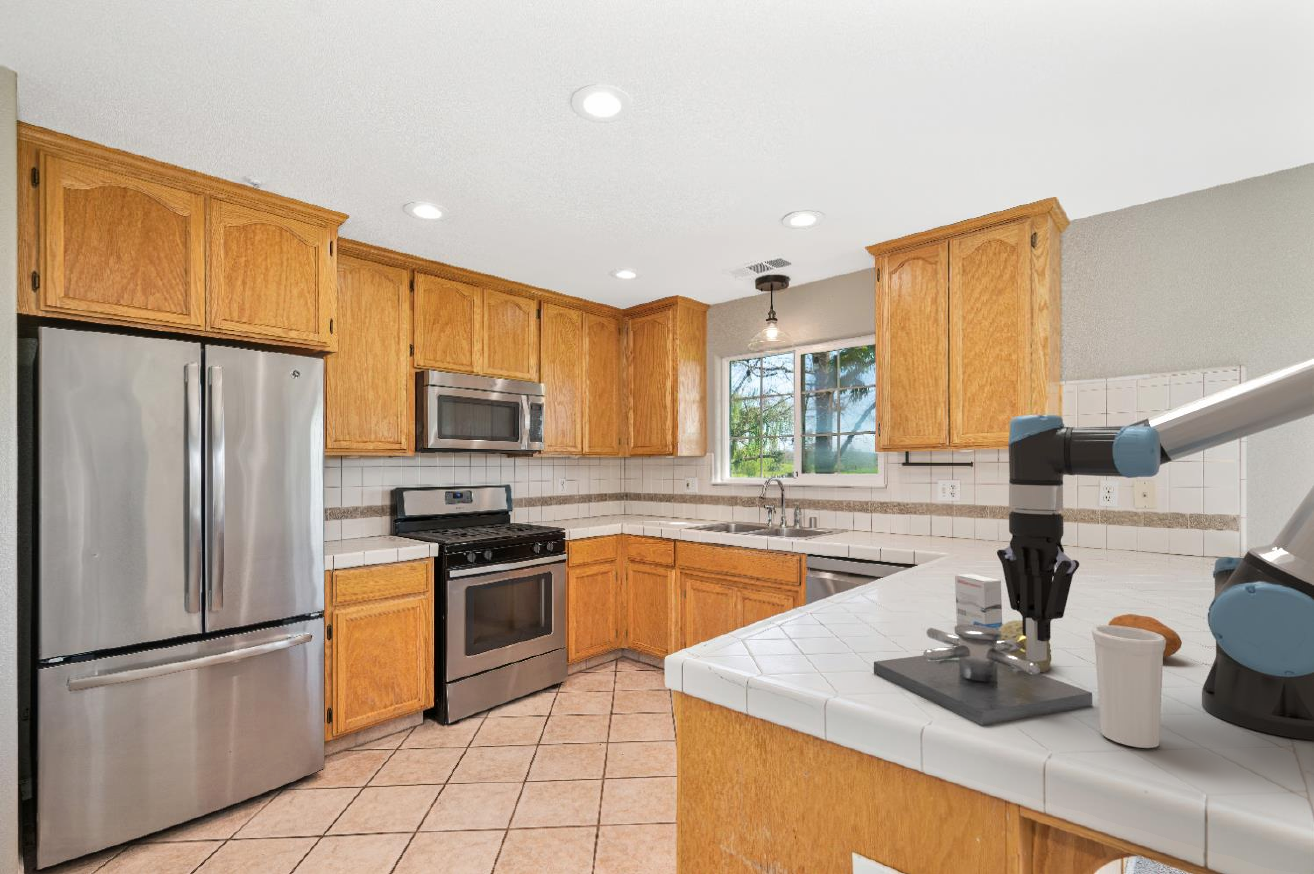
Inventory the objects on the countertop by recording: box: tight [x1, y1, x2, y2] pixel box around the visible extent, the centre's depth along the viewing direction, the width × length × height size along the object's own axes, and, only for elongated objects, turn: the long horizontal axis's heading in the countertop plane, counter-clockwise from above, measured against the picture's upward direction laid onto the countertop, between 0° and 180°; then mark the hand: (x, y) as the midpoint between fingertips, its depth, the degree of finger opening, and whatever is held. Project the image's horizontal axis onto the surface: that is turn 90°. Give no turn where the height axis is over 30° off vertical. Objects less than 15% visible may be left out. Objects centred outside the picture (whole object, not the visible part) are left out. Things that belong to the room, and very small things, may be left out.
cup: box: [1091, 624, 1166, 749], centre depth 85 cm, size 8×8×14 cm
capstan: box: [922, 625, 1041, 681], centre depth 104 cm, size 22×22×7 cm
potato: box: [1108, 613, 1183, 659], centre depth 122 cm, size 9×11×8 cm
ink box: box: [954, 573, 1003, 630], centre depth 139 cm, size 9×5×12 cm, turn 17°
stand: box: [873, 654, 1093, 727], centre depth 104 cm, size 23×22×2 cm
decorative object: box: [997, 620, 1052, 674], centre depth 116 cm, size 9×10×10 cm
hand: (1036, 659), depth 102 cm, fingers closed
